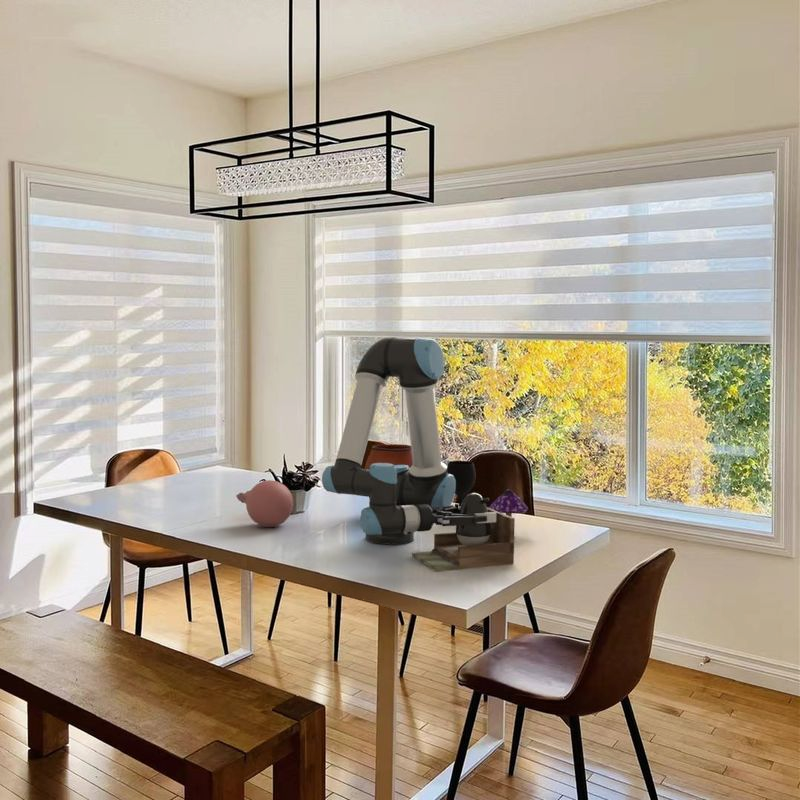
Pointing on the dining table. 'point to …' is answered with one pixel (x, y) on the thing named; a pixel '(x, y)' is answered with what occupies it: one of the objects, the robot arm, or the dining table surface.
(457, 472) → the wine glass
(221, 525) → the dining table surface
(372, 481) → the robot arm
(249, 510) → the pink round body
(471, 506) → the dark grey figurine
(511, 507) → the decorative mushroom
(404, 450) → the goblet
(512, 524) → the brown wooden tray
